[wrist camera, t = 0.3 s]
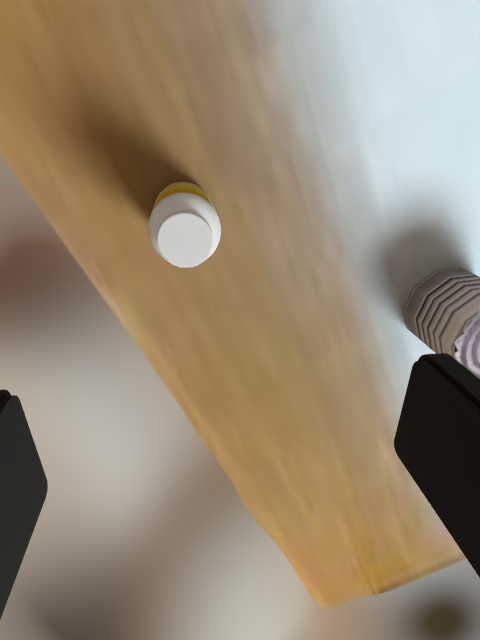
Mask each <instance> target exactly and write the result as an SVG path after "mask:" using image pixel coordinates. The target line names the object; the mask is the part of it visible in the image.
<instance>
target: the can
mask: <svg viewBox="0 0 480 640" xmlns="http://www.w3.org/2000/svg"><path fill="white" fill-rule="evenodd" d="M404 313H405V319H406V324H407V329H408V330H409V331H411V332H412V333H413V334H414V335H415V336H416V337H418V338H419V339H420V340H421V341H422V342H423V343H425V344H426V345H427V346H428V347H429V348H430V349H432V350H433V351H434V352H435V353H436V354H438V353H447V354H449V355H451V356H452V357H453V358H455V359H456V360H457V361H458V362H459V363H461V364H462V365H463V366H464V367H466V368H467V369H468V370H469V371H470V372H472V373H473V374H474V375H475V376H477V377H478V378H479V379H480V277H478V276H476V275H474V274H472V273H470V272H468V271H466V270H464V269H461V268H453V269H445V270H436V271H435V272H433V273H432V274H431V275H429V276H428V277H427V278H425V279H424V280H423V281H421V282H420V283H419V284H417V285H416V286H415V287H414V289H413V291H412V293H411V295H410V297H409V299H408V301H407V303H406V305H405V308H404Z"/></svg>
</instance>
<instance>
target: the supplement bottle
mask: <svg viewBox="0 0 480 640" xmlns="http://www.w3.org/2000/svg"><path fill="white" fill-rule="evenodd" d="M148 231H149V237H150V240H151V243H152V245H153V247H154V249H155V250H156V251H157V253H158V254H159V255H160V256H161V257H163V258H164V259H165V260H167V261H168V262H170V263H171V264H173V265H175V266H178V267H184V268H187V267H194V266H197V265H199V264H200V263H202V262H203V261H205V260H206V259H207V258H209V257H210V256H211V255H212V254H213V252H214V251H215V249H216V248H217V246H218V243H219V240H220V235H221V226H220V221H219V218H218V215H217V213H216V211H215V209H214V206H213V204H212V202H211V199H210V198H209V196H208V194H207V193H206V192H205V191H204V190H203V189H202V188H200V187H199V186H197V185H195V184H193V183H190V182H176V183H173V184H170V185H168V186H167V187H165V188H164V189H163V190H162V191H161V192H160V194H159V195H158V197H157V199H156V201H155V204H154V207H153V210H152V213H151V216H150V219H149V225H148Z"/></svg>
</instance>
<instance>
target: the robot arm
mask: <svg viewBox="0 0 480 640" xmlns="http://www.w3.org/2000/svg"><path fill="white" fill-rule="evenodd" d="M394 447H395V451H396V453H397V455H398V457H399V458H400V460H401V461H402V463H403V464H404V466H405V467H406V469H407V470H408V472H409V473H410V475H411V476H412V478H413V479H414V481H415V482H416V484H417V485H418V487H419V488H420V490H421V491H422V493H423V494H424V495H425V497H426V498H427V500H428V501H429V503H430V504H431V506H432V507H433V509H434V510H435V512H436V513H437V515H438V516H439V518H440V519H441V521H442V522H443V524H444V525H445V527H446V528H447V530H448V531H449V533H450V534H451V536H452V537H453V539H454V540H455V542H456V543H457V544H458V546H459V547H460V549H461V550H462V552H463V553H464V555H465V556H466V558H467V559H468V561H469V562H470V564H471V565H472V567H473V568H474V570H475V571H476V573H477V574H478V576H479V577H480V379H479V378H478V377H477V376H475V375H474V374H473V373H472V372H470V371H469V370H468V369H467V368H466V367H464V366H463V365H462V364H461V363H459V362H458V361H457V360H456V359H455V358H453V357H452V356H451V355H449V354H447V353H438V354H426V355H422V356H421V357H420V358H419V360H418V361H416V362H415V363H414V364H413V367H412V371H411V375H410V379H409V383H408V387H407V391H406V395H405V399H404V403H403V407H402V411H401V415H400V419H399V423H398V427H397V431H396V435H395V439H394ZM46 494H47V479H46V476H45V473H44V470H43V467H42V464H41V461H40V458H39V456H38V452H37V449H36V447H35V443H34V441H33V438H32V435H31V432H30V429H29V426H28V423H27V420H26V417H25V414H24V411H23V408H22V405H21V402H20V400H19V398H18V397H17V396H11V394H10V393H9V392H8V391H7V390H0V619H1V616H2V614H3V611H4V608H5V605H6V603H7V600H8V597H9V595H10V592H11V589H12V587H13V584H14V581H15V579H16V576H17V573H18V570H19V568H20V565H21V563H22V560H23V557H24V554H25V552H26V549H27V546H28V544H29V541H30V538H31V536H32V533H33V530H34V528H35V525H36V522H37V520H38V517H39V514H40V511H41V509H42V506H43V503H44V501H45V498H46Z"/></svg>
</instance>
